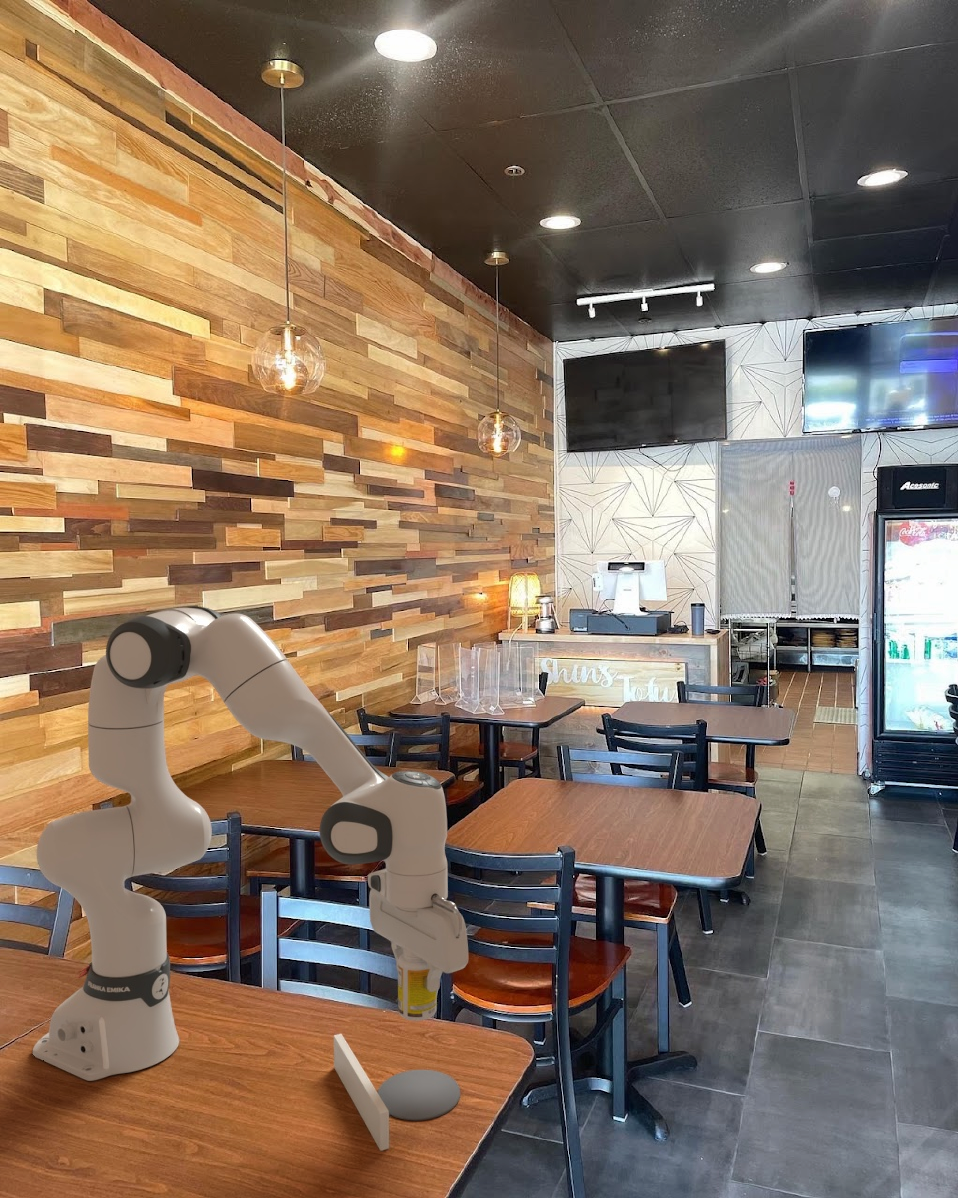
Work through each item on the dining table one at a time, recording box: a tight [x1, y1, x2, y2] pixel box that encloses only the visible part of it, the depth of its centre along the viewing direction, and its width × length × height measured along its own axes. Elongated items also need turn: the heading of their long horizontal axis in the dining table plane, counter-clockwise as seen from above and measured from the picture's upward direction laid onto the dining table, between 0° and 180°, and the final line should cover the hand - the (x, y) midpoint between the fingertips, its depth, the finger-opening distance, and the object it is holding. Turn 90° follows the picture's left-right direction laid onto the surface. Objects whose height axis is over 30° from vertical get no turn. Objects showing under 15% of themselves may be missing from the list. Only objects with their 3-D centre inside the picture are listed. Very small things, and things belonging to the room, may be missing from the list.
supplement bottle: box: [397, 945, 438, 1022], centre depth 131 cm, size 6×6×10 cm
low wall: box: [333, 1033, 390, 1152], centre depth 130 cm, size 22×1×5 cm, turn 25°
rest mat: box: [377, 1069, 461, 1121], centre depth 132 cm, size 12×12×1 cm
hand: (417, 980), depth 131 cm, fingers closed on supplement bottle, 5 cm apart
